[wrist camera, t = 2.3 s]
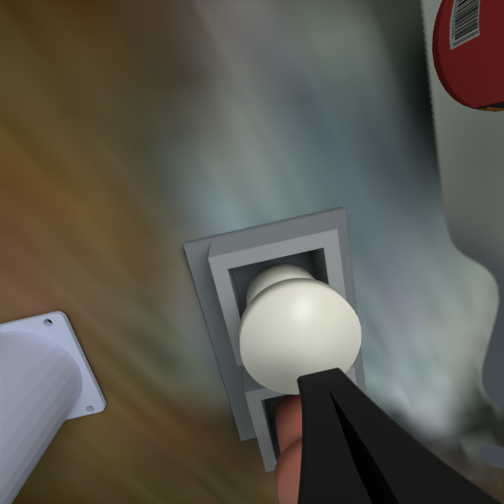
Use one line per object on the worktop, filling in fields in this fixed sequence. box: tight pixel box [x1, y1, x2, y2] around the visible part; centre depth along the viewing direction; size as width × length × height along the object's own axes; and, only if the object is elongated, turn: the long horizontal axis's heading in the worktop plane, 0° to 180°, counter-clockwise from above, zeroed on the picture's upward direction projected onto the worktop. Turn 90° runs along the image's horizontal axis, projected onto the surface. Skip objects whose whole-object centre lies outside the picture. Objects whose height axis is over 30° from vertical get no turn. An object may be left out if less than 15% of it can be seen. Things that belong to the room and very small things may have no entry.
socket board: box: [183, 207, 366, 472], centre depth 18 cm, size 10×16×4 cm, turn 12°
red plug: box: [275, 394, 302, 504], centre depth 16 cm, size 5×5×4 cm
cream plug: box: [239, 263, 362, 395], centre depth 14 cm, size 5×5×4 cm
